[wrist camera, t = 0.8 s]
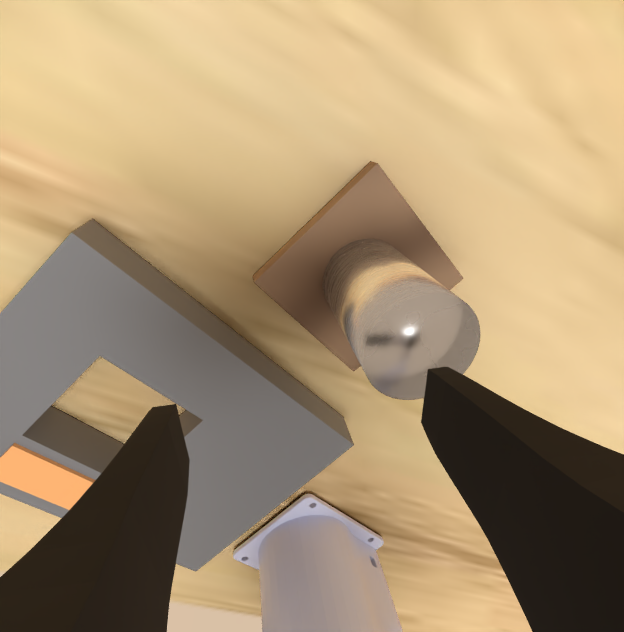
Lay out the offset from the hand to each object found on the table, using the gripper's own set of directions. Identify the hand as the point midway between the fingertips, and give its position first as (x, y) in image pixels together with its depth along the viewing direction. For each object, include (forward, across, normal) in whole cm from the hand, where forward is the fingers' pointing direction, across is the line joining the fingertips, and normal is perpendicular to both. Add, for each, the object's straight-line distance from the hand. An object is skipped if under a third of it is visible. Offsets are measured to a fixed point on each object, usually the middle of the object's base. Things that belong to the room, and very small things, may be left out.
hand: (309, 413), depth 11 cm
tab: (+10, -4, 0) cm, 11 cm away
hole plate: (+10, +8, +7) cm, 15 cm away
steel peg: (+9, -4, 0) cm, 10 cm away
